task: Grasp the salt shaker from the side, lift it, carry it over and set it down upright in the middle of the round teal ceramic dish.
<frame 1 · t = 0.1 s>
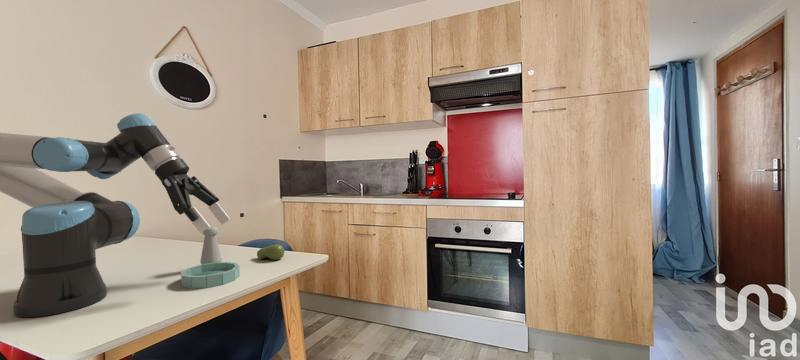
hand: (216, 225, 93), 15 cm above the table, tool tilted 35°, fingers open, 13 cm apart
pear: (270, 259, 114), on the table
dish: (211, 279, 93), on the table
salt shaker: (211, 268, 104), on the table
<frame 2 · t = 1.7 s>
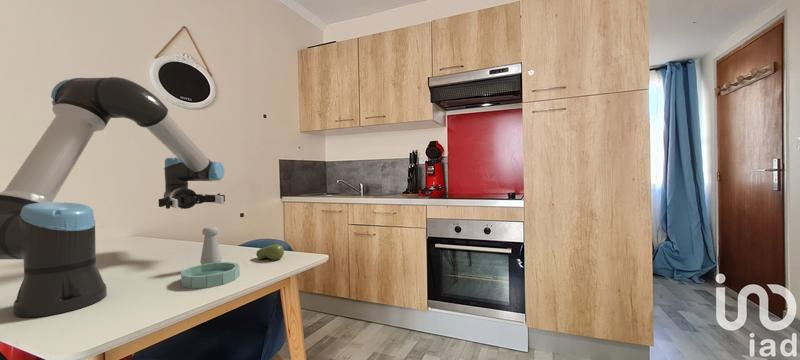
hand: (200, 202, 110), 20 cm above the table, tool horizontal, fingers open, 13 cm apart
nothing on the table moved.
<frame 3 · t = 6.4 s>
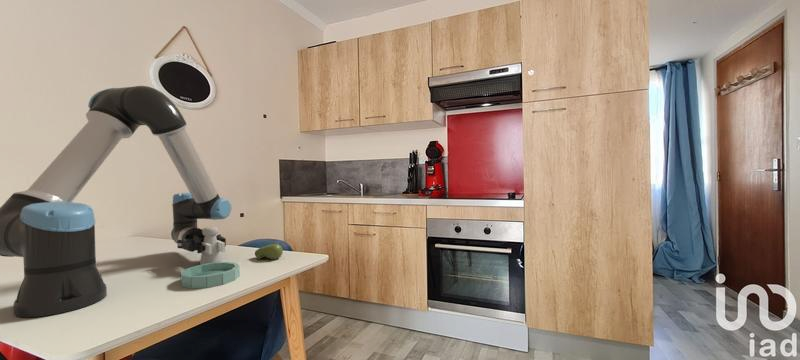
hand: (217, 248, 100), 7 cm above the table, tool horizontal, fingers closed on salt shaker, 3 cm apart
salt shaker: (211, 268, 104), on the table, touching gripper
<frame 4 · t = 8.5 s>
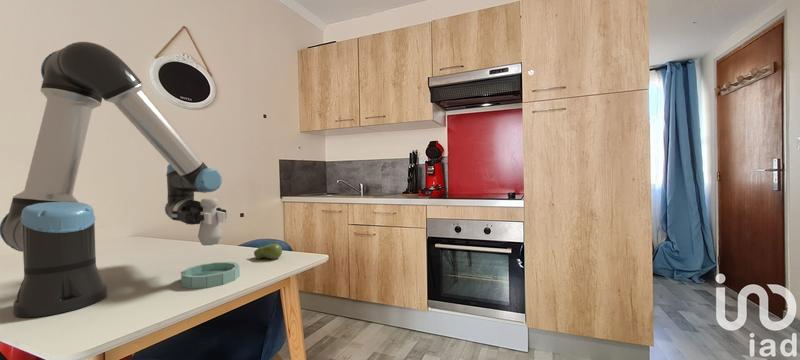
hand: (217, 218, 89), 18 cm above the table, tool horizontal, fingers closed on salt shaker, 3 cm apart
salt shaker: (210, 244, 93), point 10 cm above the table, touching gripper
when the fingers open (10 cm above the table, at t = 10.7 s): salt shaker stays where it is, resting on dish.
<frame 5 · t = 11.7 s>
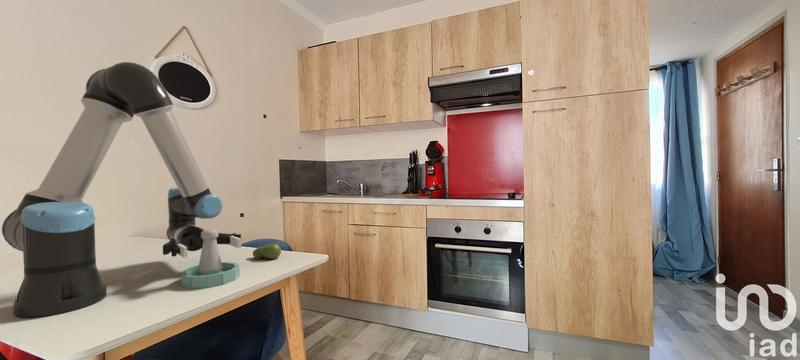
hand: (214, 247, 90), 10 cm above the table, tool horizontal, fingers open, 13 cm apart
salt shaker: (210, 276, 93), point 1 cm above the table, touching dish
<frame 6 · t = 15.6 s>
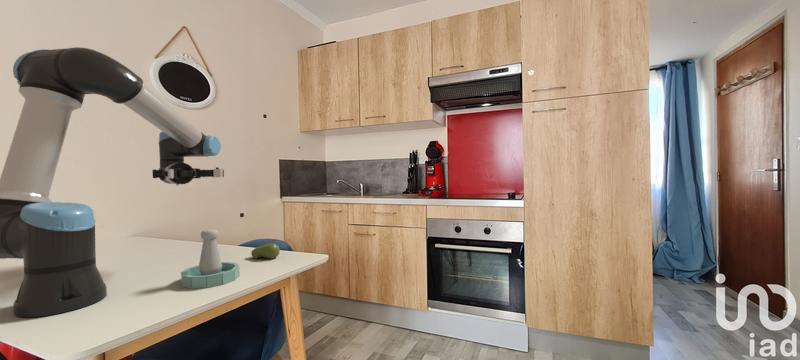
hand: (198, 173, 102), 30 cm above the table, tool horizontal, fingers open, 13 cm apart
at the end: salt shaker 0.1 cm from the dish (horizontally); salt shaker point 0.9 cm above the table; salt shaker tilted 0° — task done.
